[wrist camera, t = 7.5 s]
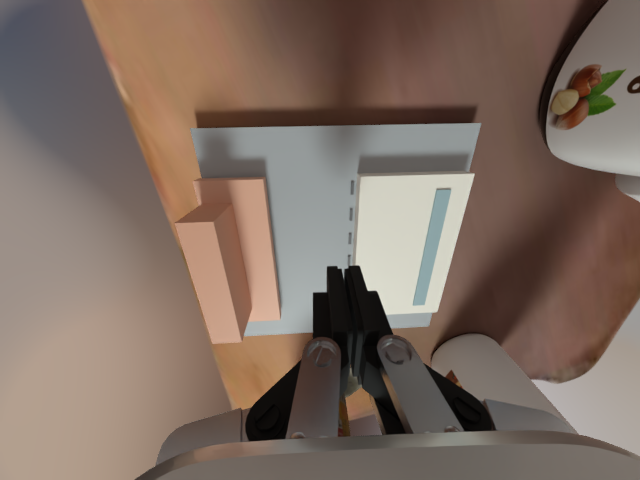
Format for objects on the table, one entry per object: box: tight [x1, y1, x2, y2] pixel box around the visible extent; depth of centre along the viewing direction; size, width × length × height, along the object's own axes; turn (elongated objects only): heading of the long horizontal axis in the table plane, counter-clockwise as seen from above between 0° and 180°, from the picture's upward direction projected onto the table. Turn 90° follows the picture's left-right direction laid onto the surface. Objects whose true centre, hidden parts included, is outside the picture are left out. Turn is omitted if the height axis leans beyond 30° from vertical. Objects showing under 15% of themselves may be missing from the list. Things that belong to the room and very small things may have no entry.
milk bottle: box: [431, 333, 579, 435], centre depth 17 cm, size 8×8×20 cm
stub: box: [175, 177, 281, 344], centre depth 16 cm, size 12×4×4 cm, turn 1°
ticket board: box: [190, 123, 481, 336], centre depth 18 cm, size 18×19×2 cm
